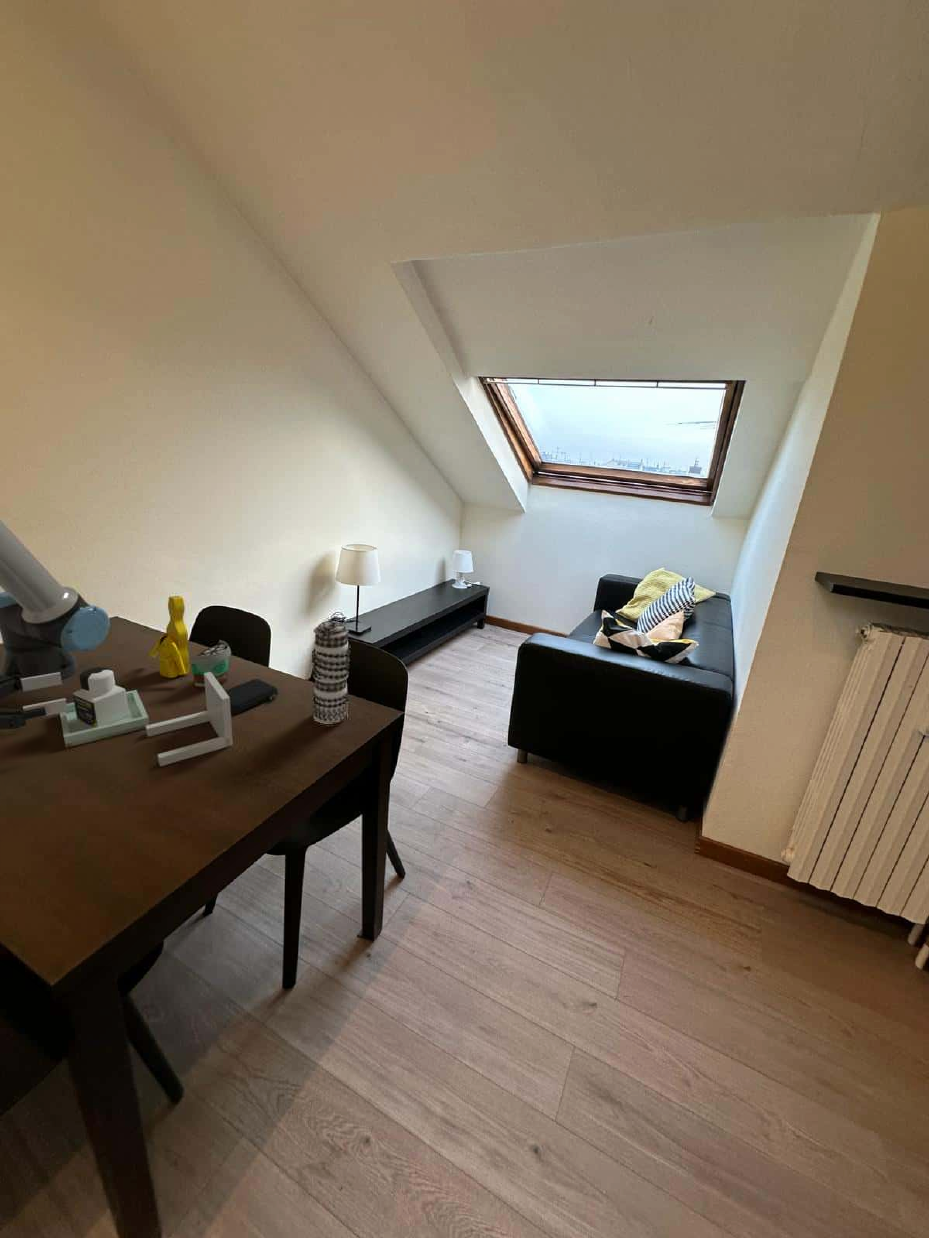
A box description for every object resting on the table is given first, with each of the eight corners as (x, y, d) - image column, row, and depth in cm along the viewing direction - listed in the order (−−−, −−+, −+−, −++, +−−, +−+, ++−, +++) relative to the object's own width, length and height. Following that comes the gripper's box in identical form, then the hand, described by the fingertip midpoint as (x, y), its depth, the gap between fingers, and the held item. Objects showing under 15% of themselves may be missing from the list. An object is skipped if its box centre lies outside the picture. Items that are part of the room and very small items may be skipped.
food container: (212, 695, 127) (209, 660, 124) (191, 690, 128) (188, 656, 125) (242, 675, 138) (240, 643, 135) (222, 671, 139) (220, 639, 136)
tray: (60, 714, 112) (58, 705, 111) (137, 698, 122) (136, 689, 121) (65, 747, 102) (63, 737, 101) (149, 726, 111) (148, 717, 110)
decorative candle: (356, 718, 124) (359, 626, 115) (324, 730, 117) (324, 634, 109) (336, 703, 129) (338, 615, 121) (304, 714, 123) (304, 622, 114)
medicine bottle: (76, 720, 109) (67, 672, 105) (109, 707, 116) (102, 661, 112) (97, 730, 107) (89, 681, 103) (129, 715, 113) (123, 669, 109)
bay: (146, 733, 109) (140, 685, 105) (214, 716, 118) (210, 671, 114) (160, 766, 99) (153, 715, 95) (232, 745, 108) (229, 697, 104)
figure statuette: (143, 667, 137) (134, 593, 129) (172, 659, 143) (164, 587, 136) (178, 688, 128) (170, 610, 121) (207, 678, 134) (201, 603, 127)
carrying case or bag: (235, 720, 118) (284, 697, 130) (234, 709, 117) (284, 687, 129) (207, 705, 123) (257, 685, 135) (207, 695, 122) (257, 675, 134)
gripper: (-71, 706, 100) (61, 682, 114) (-85, 770, 83) (72, 733, 97) (-81, 674, 98) (56, 653, 112) (-98, 733, 81) (66, 700, 94)
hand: (64, 690), depth 104 cm, fingers open, 13 cm apart
